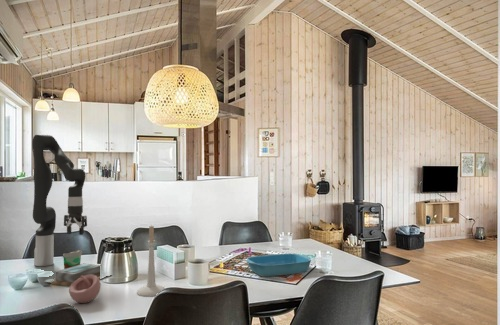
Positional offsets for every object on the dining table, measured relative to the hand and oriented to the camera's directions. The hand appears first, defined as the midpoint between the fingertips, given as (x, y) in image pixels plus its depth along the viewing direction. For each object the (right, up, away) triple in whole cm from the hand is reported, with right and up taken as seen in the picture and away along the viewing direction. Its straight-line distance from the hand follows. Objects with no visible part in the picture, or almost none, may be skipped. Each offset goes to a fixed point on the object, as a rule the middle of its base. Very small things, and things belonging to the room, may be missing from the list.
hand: (75, 234), depth 210 cm
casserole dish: (+112, -20, -3) cm, 114 cm away
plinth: (+10, -19, -18) cm, 28 cm away
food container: (0, -20, 0) cm, 20 cm away
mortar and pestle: (+28, -19, -51) cm, 61 cm away
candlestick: (+52, -19, -38) cm, 67 cm away
